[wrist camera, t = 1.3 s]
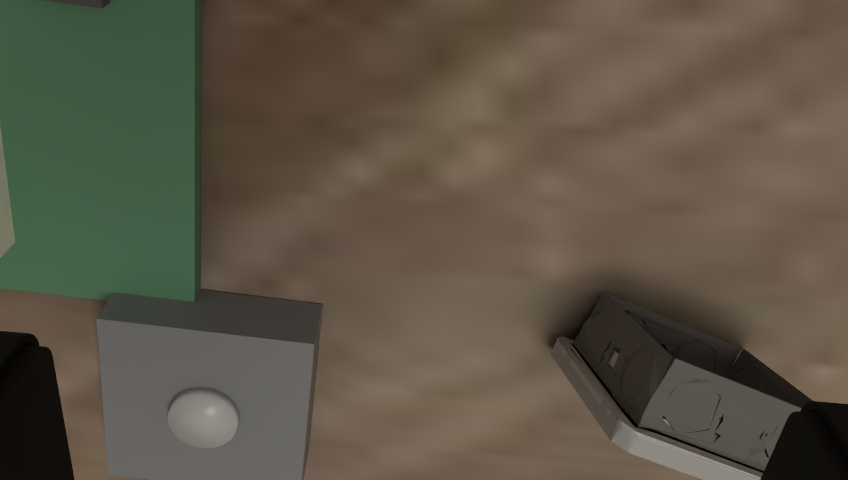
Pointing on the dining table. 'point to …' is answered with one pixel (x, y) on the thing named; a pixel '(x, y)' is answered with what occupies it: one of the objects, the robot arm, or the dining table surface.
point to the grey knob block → (208, 386)
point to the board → (101, 147)
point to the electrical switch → (677, 392)
